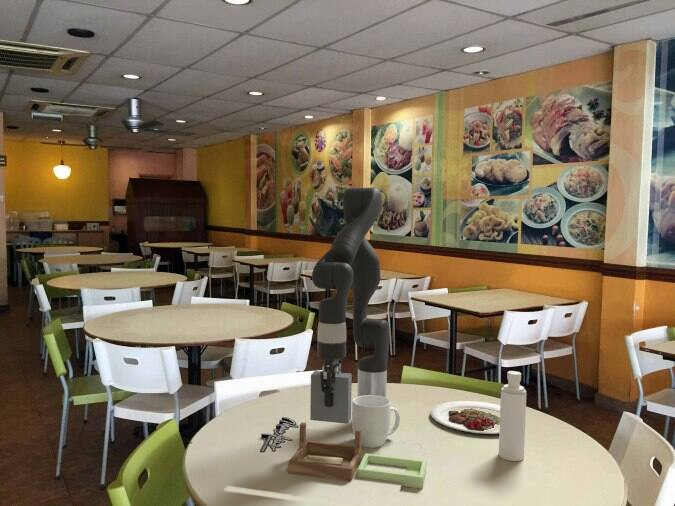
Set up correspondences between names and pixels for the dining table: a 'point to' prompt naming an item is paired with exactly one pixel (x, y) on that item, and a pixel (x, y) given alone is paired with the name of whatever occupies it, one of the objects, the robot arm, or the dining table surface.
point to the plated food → (467, 416)
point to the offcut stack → (325, 460)
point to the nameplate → (278, 434)
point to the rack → (313, 448)
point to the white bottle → (512, 419)
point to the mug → (373, 419)
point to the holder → (410, 478)
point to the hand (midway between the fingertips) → (331, 403)
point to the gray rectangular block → (340, 399)
